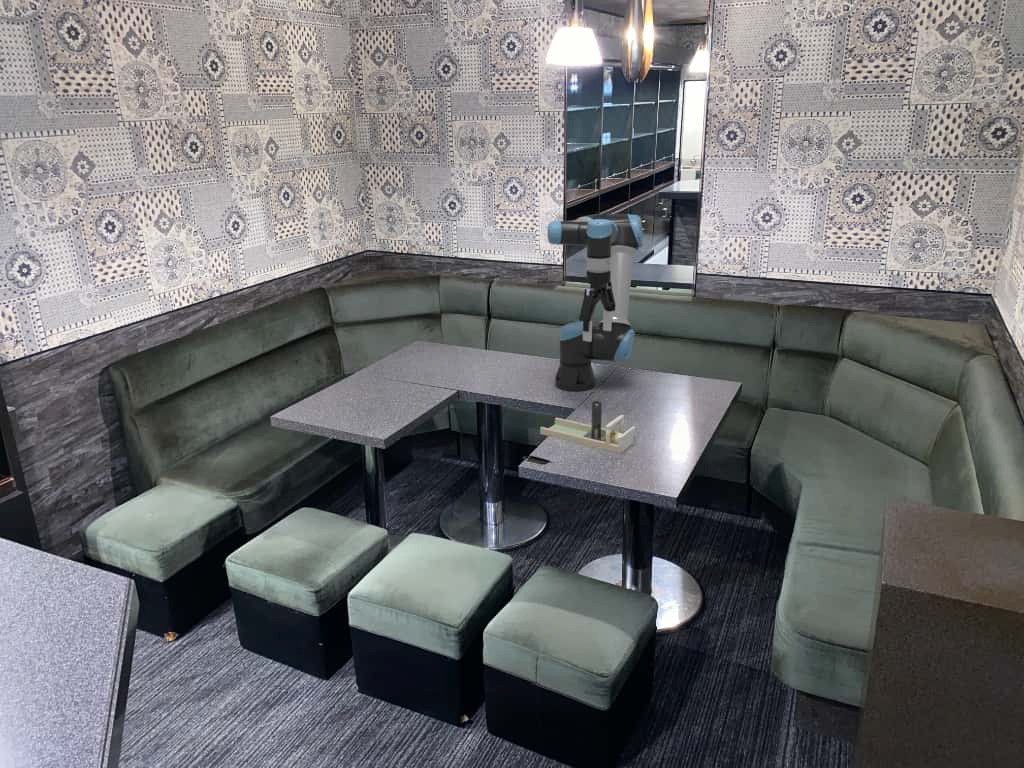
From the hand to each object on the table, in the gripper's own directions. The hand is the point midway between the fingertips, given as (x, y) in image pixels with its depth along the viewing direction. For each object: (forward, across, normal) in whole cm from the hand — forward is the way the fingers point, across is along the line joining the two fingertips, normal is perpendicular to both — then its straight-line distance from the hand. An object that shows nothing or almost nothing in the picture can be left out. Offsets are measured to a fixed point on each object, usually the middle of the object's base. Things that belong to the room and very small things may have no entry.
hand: (597, 335), depth 251 cm
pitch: (+29, -18, -6) cm, 34 cm away
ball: (+26, -18, -20) cm, 37 cm away
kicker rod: (+27, -18, -10) cm, 34 cm away
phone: (+29, -32, 0) cm, 43 cm away
